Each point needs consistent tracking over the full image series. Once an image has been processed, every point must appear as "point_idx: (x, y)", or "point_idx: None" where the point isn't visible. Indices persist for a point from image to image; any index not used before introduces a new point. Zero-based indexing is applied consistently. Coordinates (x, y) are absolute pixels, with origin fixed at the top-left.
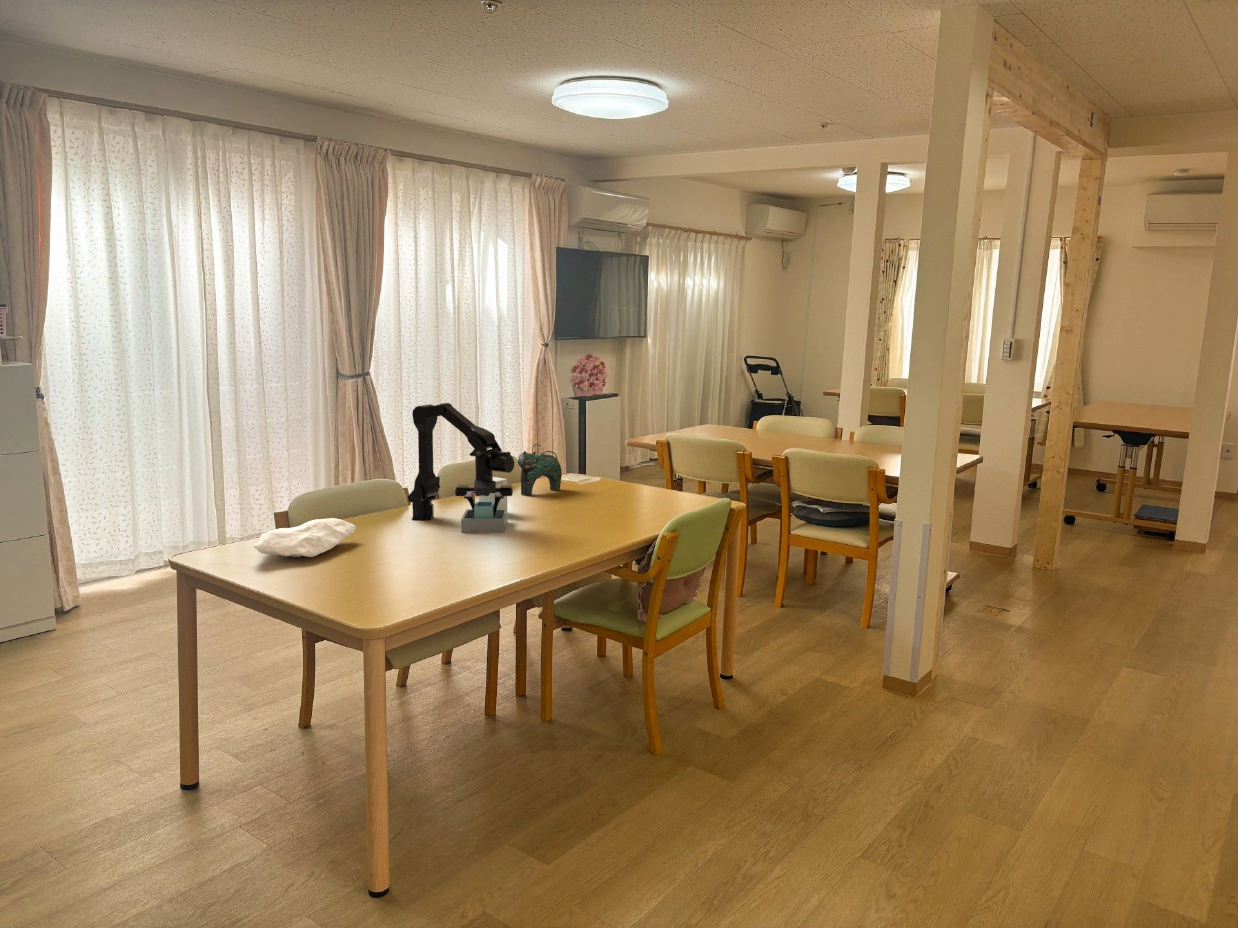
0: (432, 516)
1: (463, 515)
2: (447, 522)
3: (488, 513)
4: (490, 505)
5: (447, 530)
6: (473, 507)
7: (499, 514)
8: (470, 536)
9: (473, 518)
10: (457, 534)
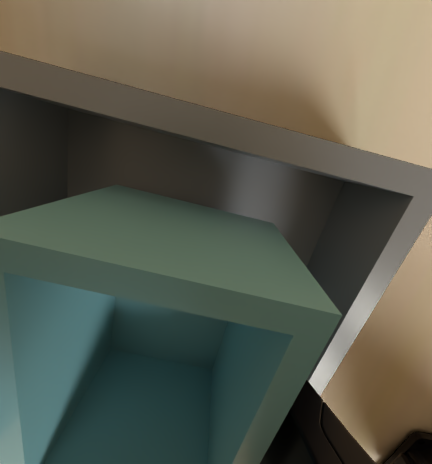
0: (403, 455)
1: (365, 314)
2: (354, 384)
3: (119, 212)
4: (86, 436)
5: (420, 241)
6: None
7: None
8: (333, 12)
9: None
10: (404, 114)
